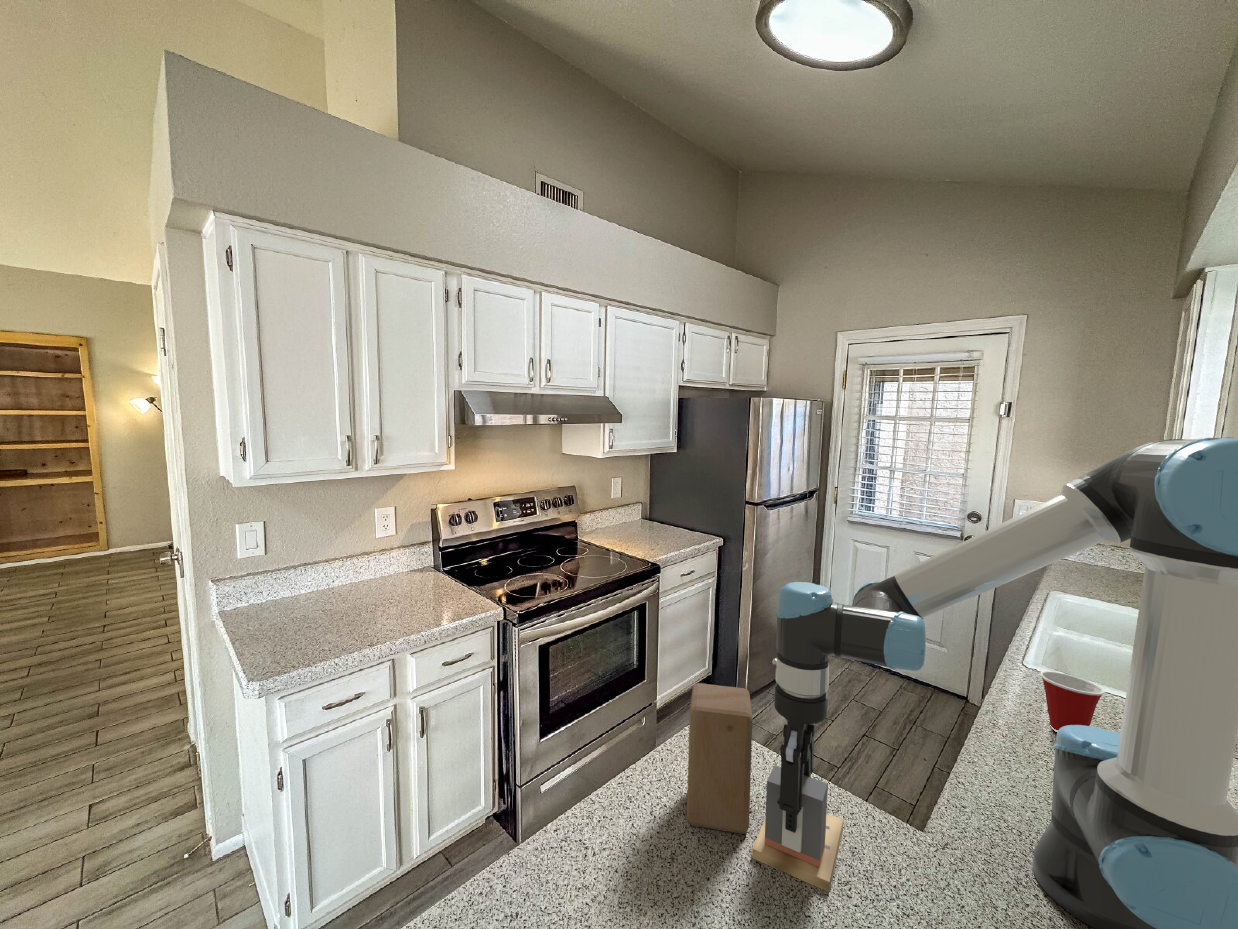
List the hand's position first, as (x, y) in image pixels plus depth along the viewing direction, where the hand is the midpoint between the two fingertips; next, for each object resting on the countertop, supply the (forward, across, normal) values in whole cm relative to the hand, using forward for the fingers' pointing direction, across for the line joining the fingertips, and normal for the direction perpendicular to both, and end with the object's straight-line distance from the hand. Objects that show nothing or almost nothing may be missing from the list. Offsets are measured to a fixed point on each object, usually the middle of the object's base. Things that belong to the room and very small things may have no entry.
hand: (795, 835), depth 78 cm
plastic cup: (+3, -68, +44) cm, 81 cm away
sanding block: (+2, 0, 0) cm, 2 cm away
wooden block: (+3, -3, -13) cm, 14 cm away
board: (+3, -3, 0) cm, 4 cm away
